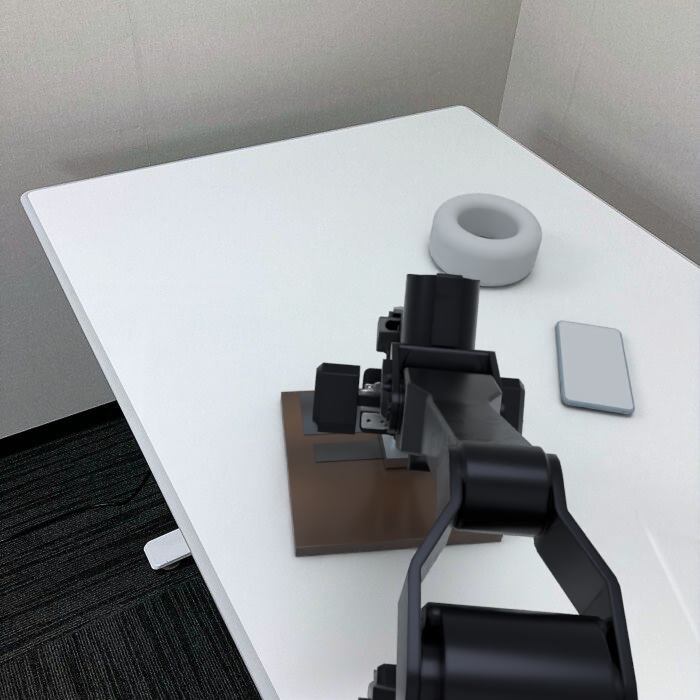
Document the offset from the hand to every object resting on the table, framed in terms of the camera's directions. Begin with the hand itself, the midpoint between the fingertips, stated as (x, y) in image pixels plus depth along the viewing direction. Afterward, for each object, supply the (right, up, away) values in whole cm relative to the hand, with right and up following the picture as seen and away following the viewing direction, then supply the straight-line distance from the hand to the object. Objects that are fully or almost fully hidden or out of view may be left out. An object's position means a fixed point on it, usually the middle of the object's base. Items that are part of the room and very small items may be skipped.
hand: (408, 402), depth 78 cm
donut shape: (+13, +18, +32) cm, 39 cm away
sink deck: (-2, -7, +3) cm, 8 cm away
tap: (-1, -3, +5) cm, 6 cm away
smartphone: (+24, +3, +16) cm, 29 cm away
